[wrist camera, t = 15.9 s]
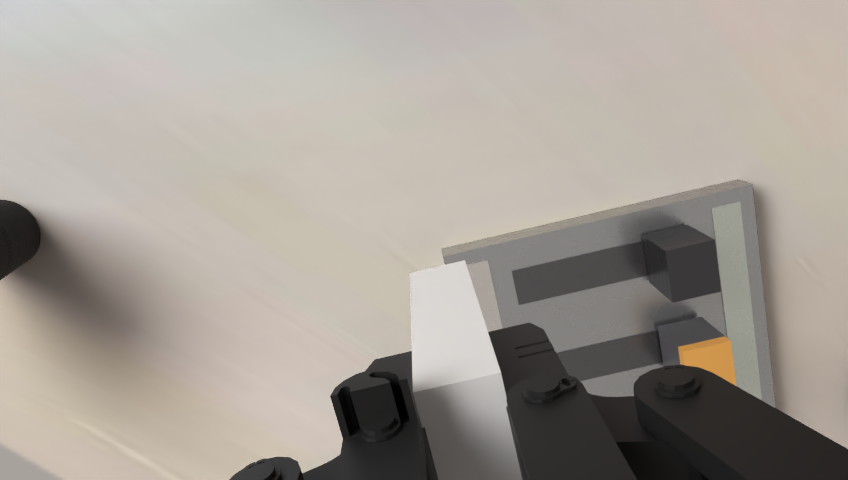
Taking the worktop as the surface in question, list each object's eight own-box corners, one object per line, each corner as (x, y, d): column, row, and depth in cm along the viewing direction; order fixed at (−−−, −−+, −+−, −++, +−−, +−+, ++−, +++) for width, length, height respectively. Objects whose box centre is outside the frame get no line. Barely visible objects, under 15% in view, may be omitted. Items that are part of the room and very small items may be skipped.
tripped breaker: (657, 326, 47) (682, 352, 42) (701, 316, 47) (730, 341, 42) (664, 370, 48) (689, 399, 43) (706, 360, 48) (736, 389, 43)
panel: (441, 248, 47) (447, 275, 41) (737, 179, 47) (789, 196, 40) (498, 490, 53) (511, 546, 46) (765, 430, 52) (814, 479, 46)
